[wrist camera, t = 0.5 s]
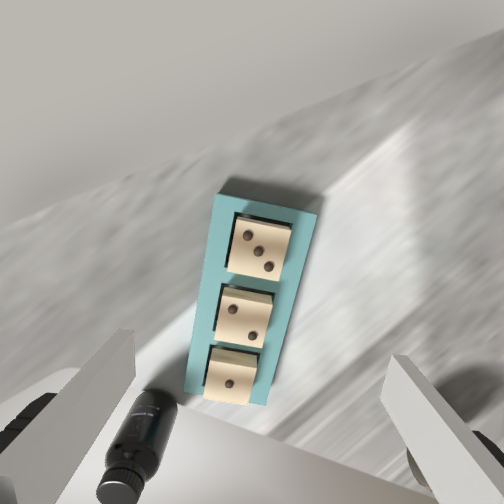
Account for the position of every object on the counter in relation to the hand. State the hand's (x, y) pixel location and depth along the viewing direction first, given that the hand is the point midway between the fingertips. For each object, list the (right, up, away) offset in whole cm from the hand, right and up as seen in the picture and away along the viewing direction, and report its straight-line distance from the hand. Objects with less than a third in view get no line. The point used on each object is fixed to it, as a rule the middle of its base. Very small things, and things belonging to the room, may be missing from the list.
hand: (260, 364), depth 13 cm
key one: (-3, -11, +22) cm, 25 cm away
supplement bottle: (-15, -18, +27) cm, 36 cm away
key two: (-2, -2, +20) cm, 20 cm away
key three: (0, +6, +17) cm, 19 cm away
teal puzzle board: (-2, -1, +22) cm, 22 cm away
